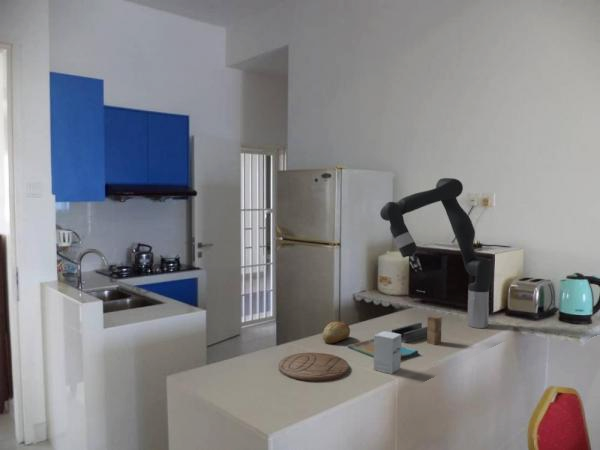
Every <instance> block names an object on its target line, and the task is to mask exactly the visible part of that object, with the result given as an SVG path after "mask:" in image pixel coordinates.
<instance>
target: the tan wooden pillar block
mask: <svg viewBox="0 0 600 450" xmlns="http://www.w3.org/2000/svg"><path fill="white" fill-rule="evenodd" d="M442 318H443V317H442V316H438V315H432V316H427V322H426V324H427V325H426V327H427V337H426V343H427V344H430V345H433V346H435V345H439V344H441V343H442V321H443V319H442Z"/></svg>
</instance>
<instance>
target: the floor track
mask: <svg viewBox="0 0 600 450" xmlns="http://www.w3.org/2000/svg"><path fill="white" fill-rule="evenodd" d="M391 332H392V333H397V334H401V343H403V344H408V343H410V342H413V341H416V340H420V339H424V338H427V326H424V327H423V323H422V322H417V323H413V324H409V325H405V326H402V327H397V328H393V329H391Z"/></svg>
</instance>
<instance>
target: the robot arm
mask: <svg viewBox="0 0 600 450" xmlns="http://www.w3.org/2000/svg"><path fill="white" fill-rule="evenodd" d="M463 190H464V186H463V182H462V181H460V180H459V179H457V178H452V177H451V178H450V177H445V178H444V177H443V178H440V179H439V180H438V181H437V182H436V184H435V188H432V189H429V190H424V191H420V192H415V193H412V194H410V195H408V196H405V197H403V198H401V199H399V200H398V201H396V202H395V201H389V202H386V203H385V204H384V205H383V206H382V208H381V209H380V211H379V212H380V213H379V215H380V218H382V220H384V221H389V223H390V226H389V230H390V233H391V234H392V235H391V236H392V238H393V239H394V241H395V244H396V246H397V248H398V250H399V253H400V254H401V257H402V258H403V259H404V258H407V257H408V262H409V264H410V265H411V268H412V269H413V271H415V272H416V274H417V277H418V278H419V280H421V281H422V280H423V279H425V278H426V275H425V273H424V272H423V268H422V265H421V263H420V259H419V257H418V256H417V255H415V254H416V253H418V252H419V248H418V246H417V243H416V242H415V240H414V237H413V236H412V235H411V233H410V231H409V229H408V227H407V225H406V223H405V219H404V215H405V214H407V213H411V212H413V211H416V210H420V209H421V208H423V207H427V206H430V205H432V204H434V203H438V202H441V204H442V206H443V208H444V210H445V213H446V216H447V218H448V221H449V224H450V226H451V229H452V232H453V234H454V236H455V237H454V238H456V241H457V245H458V247H459V250H460V253H461V257H462V261H463V265H464V269H465V271H466V272H467V273H468V274H469V275H470V276H472V277H473V276H474V277H475V280H474V282H471V283H469V284H468V289H467V290H468V292H467V293H468V294H467V297H468V298H467V323H466V324H467V326H468V327H470V328H471V327H472V328H477V329H486V328H488V326H489V312H490V308H489V307H490V306H489V299H490V298H489V297H490V296H489V294H490V293H489V292H490V291H489V290H490V287H491V283H492V276H493V275H492V274H493V272H492V271H493V267H492V262H491V260H489V259H488V258H485V257H481V256H480V257H479V256H478V255H477V253H476V252H475V248H474V242H475V237H476V231H475V228H474V225H473V222H472V220H471V218H470V216H469V215H468V214H467V212H466V211H465V210H464V208H463V207H462V206H461V205H460V204H459V201H458V199H457V198H458V197H459V196H460V195H461V194H462V193H463Z"/></svg>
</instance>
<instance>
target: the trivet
mask: <svg viewBox="0 0 600 450" xmlns="http://www.w3.org/2000/svg"><path fill="white" fill-rule="evenodd" d="M349 368H350V367H349V362H348V361H347V360H346V359H345V358H342V357H340V356H338V355H334V354H330V353H324V352H302V353H294V354H291V355H288V356H285V357H283V358H282V359H280V361H279V362H278V371H279V372H280V373H281V375H283V376H285V377H287V378H289V379H292V380H296V381H297V380H298V381H303V382H315V383H317V382H328V381H334V380H337V379H341V378H343V377H344V376H346V375H347V374H348V373H349Z"/></svg>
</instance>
